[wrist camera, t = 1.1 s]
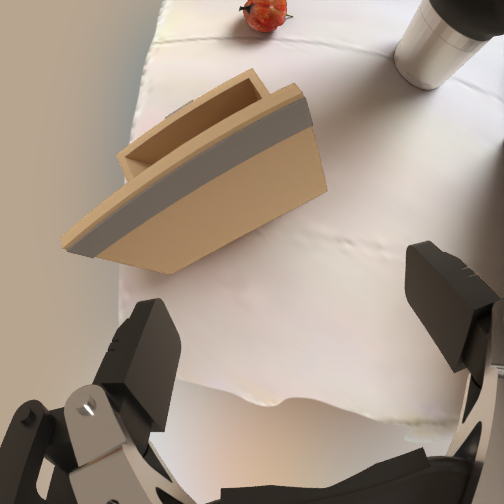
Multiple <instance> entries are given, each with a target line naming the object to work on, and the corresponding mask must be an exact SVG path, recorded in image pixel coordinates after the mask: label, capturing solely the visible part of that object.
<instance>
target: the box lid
mask: <svg viewBox="0 0 504 504" xmlns="http://www.w3.org/2000/svg"><path fill="white" fill-rule="evenodd" d="M312 126H313V123H312V119H311V115H310V112H309V108H308V104H307V101H306V98H305V97H304V96H303V92H302V91H301V90H300V89H299V87H298V86H297V85H296V84H295V83H293V84H291V85H289V86H286V87H284V88H282V89H280V90H278V91H276V92H274V93H272V94H270V95H268V96H266V97H264V98H262V99H260V100H259V101H257V102H255V103H253V104H251V105H249V106H247V107H245V108H244V109H242V110H240V111H238V112H236V113H234V114H233V115H231V116H229V117H227V118H226V119H224V120H222V121H220V122H219V123H217V124H215V125H214V126H212V127H210V128H209V129H207V130H205V131H204V132H202V133H200V134H199V135H197V136H196V137H194V138H192V139H191V140H189V141H188V142H186V143H184V144H183V145H181V146H180V147H178V148H177V149H175V150H174V151H172V152H171V153H169V154H168V155H166V156H165V157H163V158H162V159H160V160H159V161H157V162H156V163H154V164H153V165H152V166H150V167H149V168H147V169H146V170H144V171H143V172H142V173H140V174H139V175H137V176H136V177H135V178H133V179H132V180H131V181H129V182H128V183H127V184H125V185H124V186H123V187H121V188H120V189H119V190H117V191H116V192H115V193H113V194H112V195H111V196H110V197H108V198H107V199H106V200H105V201H103V202H102V203H101V204H99V205H98V206H97V207H96V208H95V209H93V210H92V211H91V212H90V213H88V214H87V215H86V216H85V217H84V218H82V220H80V221H79V222H78V223H77V224H75V225H74V226H73V227H72V228H71V229H70V230H69V231H67V232H66V233H65V234H64V235H63V236H62V237H61V242H62V248H63V249H66V250H67V252H70V253H74V254H78V255H82V256H86V257H90V258H94V257H98V258H102V259H106V260H110V261H114V262H118V263H122V264H126V265H131V266H135V267H139V268H143V269H148V270H152V271H156V272H161V273H165V274H170V275H171V274H173V273H175V272H177V271H179V270H180V269H182V268H184V267H186V266H188V265H190V264H191V263H193V262H195V261H197V260H199V259H201V258H202V257H204V256H206V255H208V254H210V253H212V252H213V251H215V250H217V249H219V248H221V247H223V246H225V245H226V244H228V243H230V242H232V241H234V240H236V239H238V238H239V237H241V236H243V235H245V234H247V233H249V232H251V231H253V230H254V229H256V228H258V227H260V226H262V225H264V224H266V223H268V222H269V221H271V220H273V219H275V218H277V217H279V216H281V215H283V214H285V213H287V212H288V211H290V210H292V209H294V208H296V207H298V206H300V205H302V204H304V203H306V202H308V201H310V200H311V199H313V198H315V197H317V196H319V195H321V194H323V193H325V192H327V186H326V182H325V177H324V173H323V168H322V164H321V160H320V156H319V152H318V148H317V144H316V140H315V136H314V132H313V128H312Z"/></svg>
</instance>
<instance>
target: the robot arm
mask: <svg viewBox="0 0 504 504" xmlns="http://www.w3.org/2000/svg"><path fill="white" fill-rule="evenodd" d="M503 34H504V0H422V2H421V4H420V6H419V8H418V10H417V12H416V13H415V15H414V17H413V19H412V21H411V23H410V24H409V26H408V28H407V30H406V32H405V34H404V35H403V37H402V39H401V41H400V43H399V44H398V46H397V48H396V50H395V53H394V62H395V65H396V67H397V69H398V71H399V72H400V74H401V75H402V76H403V77H404V78H405V79H406V80H407V81H408V82H409V83H411V84H412V85H414V86H416V87H418V88H421V89H425V90H432V89H436V88H438V87H439V86H440V85H442V84H443V83H444V82H445V81H446V80H447V79H448V78H450V77H451V76H452V75H453V74H454V73H455V72H456V71H457V70H458V69H459V68H460V67H461V66H463V65H464V64H465V63H466V62H467V61H468V60H469V59H470V58H471V57H472V56H473V55H474V54H475V53H477V52H478V51H479V50H480V49H481V48H482V47H483V46H484V45H485V44H486V43H487V42H488V41H489V40H490V39H491V38H492V37H494V36H500V35H503ZM405 294H406V298H407V301H408V303H409V305H410V306H411V307H412V309H413V310H414V312H415V313H416V315H417V316H418V318H419V319H420V321H421V322H422V323H423V325H424V326H425V328H426V329H427V331H428V332H429V334H430V335H431V337H432V339H433V340H434V342H435V343H436V345H437V346H438V348H439V349H440V351H441V353H442V354H443V356H444V357H445V359H446V361H447V362H448V364H449V365H450V367H451V369H452V370H453V372H454V373H456V372H458V371H460V370H462V369H465V368H468V370H469V372H470V373H469V376H468V378H467V383H466V389H465V395H464V400H463V405H462V409H461V414H460V418H459V422H458V426H457V430H456V433H455V435H454V438H453V440H452V442H451V444H450V447H449V449H448V451H447V454H446V456H430V457H426V454H425V451H424V449H423V447H422V448H419V449H417V450H414V451H411V452H409V453H406V454H403V455H400V456H398V457H395V458H392V459H389V460H386V461H383V462H380V463H377V464H374V465H373V466H371V467H369V468H367V469H366V470H363V471H362V472H360V473H358V474H356V475H354V476H352V477H350V478H348V479H346V480H344V481H342V482H339V483H338V484H335V485H333V486H331V487H327V488H301V487H286V486H275V485H266V486H257V487H256V486H255V487H241V488H221V499H219V500H215V501H212V502H209V503H206V504H504V298H502V299H501V298H500V297H499V296H498V295H497V294H496V293H495V292H494V291H493V290H492V289H491V288H490V287H489V286H488V285H487V284H486V283H485V282H484V281H483V280H482V279H481V278H479V277H478V276H477V275H475V273H474V272H473V271H472V270H471V269H470V268H467V265H465V264H464V263H463V262H462V261H461V260H460V259H459V258H457V257H455V256H453V255H451V254H449V253H446V252H442V251H441V250H440V249H439V248H438V247H437V246H435V245H434V244H433V243H432V242H431V241H425V242H421V243H417V244H413V245H409V246H408V247H407V250H406V272H405ZM180 354H181V341H180V337H179V334H178V332H177V330H176V327H175V325H174V323H173V321H172V319H171V317H170V315H169V313H168V311H167V308H166V306H165V304H164V302H163V301H162V300H161V299H160V298H156V299H151V300H145V301H140V302H138V303H137V304H136V306H135V308H134V310H133V312H132V314H131V316H130V318H128V319H126V320H125V321H124V323H123V324H122V325H121V326H120V327H119V328H118V329H117V331H116V333H115V335H114V337H113V339H112V343H110V346H109V348H108V352H106V354H105V356H104V358H103V361H102V363H101V365H100V367H99V370H98V372H97V374H96V376H95V379H94V381H93V383H92V385H86V386H83V387H81V388H79V389H77V390H76V391H75V392H73V393H72V395H71V396H70V397H69V398H68V400H67V402H66V404H65V407H63V408H58V409H54V410H50V411H48V410H47V409H46V408H45V406H43V404H42V403H41V402H40V401H38V400H30V401H27V402H25V403H24V404H23V405H21V406H20V407H19V408H18V409H17V411H16V412H15V414H14V416H13V418H12V421H11V423H10V425H9V427H8V430H7V432H6V435H5V437H4V440H3V442H2V445H1V447H0V504H197V503H196V502H195V501H194V500H193V499H192V498H191V497H190V496H189V495H188V494H187V493H186V492H185V491H184V490H183V489H182V488H181V487H180V485H179V484H178V483H177V481H176V480H175V479H174V477H173V475H172V474H171V473H170V471H169V470H168V468H167V467H166V465H165V463H164V462H163V460H162V459H161V457H160V456H159V454H158V452H157V451H156V449H155V448H154V446H153V444H152V443H151V442H150V441H149V436H150V432H164V431H165V426H166V421H167V416H168V411H169V406H170V401H171V396H172V390H173V386H174V381H175V376H176V372H177V367H178V363H179V358H180ZM44 457H45V458H46V459H47V460H49V461H50V462H51V463H52V464H54V465H55V467H54V471H53V474H52V479H51V482H50V486H49V490H48V494H47V498H46V500H44V499H43V498H41V497H40V495H39V494H38V492H37V489H36V482H37V478H38V475H39V471H40V468H41V465H42V461H43V458H44Z"/></svg>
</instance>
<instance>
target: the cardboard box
mask: <svg viewBox="0 0 504 504" xmlns="http://www.w3.org/2000/svg"><path fill="white" fill-rule="evenodd" d="M268 95H270V93H269V92H268V90H267V89H266V87H265V86H264V84H263V83H262V81H261V80H260V78H259V77H258V75H257V74H256V72H255V71H254V70H253V68H251V69H249V70H247V71H245V72H244V73H242V74H240V75H238V76H236V77H234V78H232V79H230V80H229V81H227V82H225V83H223V84H221V85H220V86H218V87H216V88H214V89H213V90H211V91H209V92H208V93H206V94H204V95H202V96H201V97H199V98H198V99H196V100H194V101H193V100H192V101H190V102H188V103H187V104H185V105H184V106H182V107H181V108H179V109H177V110H176V111H174V112H173V113H171V114H170V115H168V116H167V117H165V120H163V121H162V122H160V123H159V124H158V125H156V126H155V127H153V128H152V129H150V130H149V131H148V132H146V133H145V134H143V135H142V136H141V137H139V138H138V139H137V140H135V141H134V142H133V143H131V144H130V145H129V146H127V147H126V148H125V149H124V150H122V151H121V152H120V153H118V154H117V155H116V156H117V159H118V161H119V163H120V165H121V168H122V170H123V173H124V175H125V177H126V180H127V182H129V181H131V180H132V179H133V178H135V177H136V176H137V175H139V174H140V173H142V172H143V171H144V170H146V169H147V168H149V167H150V166H152V165H153V164H154V163H156V162H157V161H159V160H160V159H162V158H163V157H165V156H166V155H168V154H169V153H171V152H172V151H174V150H175V149H177V148H178V147H180V146H181V145H183V144H184V143H186V142H188V141H189V140H191V139H192V138H194V137H196V136H197V135H199V134H200V133H202V132H204V131H205V130H207V129H209V128H210V127H212V126H214V125H215V124H217V123H219V122H220V121H222V120H224V119H226V118H227V117H229V116H231V115H233V114H234V113H236V112H238V111H240V110H242V109H244V108H245V107H247V106H249V105H251V104H253V103H255V102H257V101H259V100H260V99H262V98H264V97H266V96H268Z"/></svg>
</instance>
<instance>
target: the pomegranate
mask: <svg viewBox="0 0 504 504" xmlns="http://www.w3.org/2000/svg"><path fill="white" fill-rule="evenodd" d="M240 10H243V13H244V17H246V21H247V23H248V25H249V26H250V27H252V28H253V29H255V30H257V31H260V32H271V31H274V30H276V29H277V26H281V25H283V23H284V22H285V16H290V15H287V2H286V0H248V1H247V2H246V4H245V5H244V7H241V6H240V9H239V11H240ZM290 17H293V16H290Z"/></svg>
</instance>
